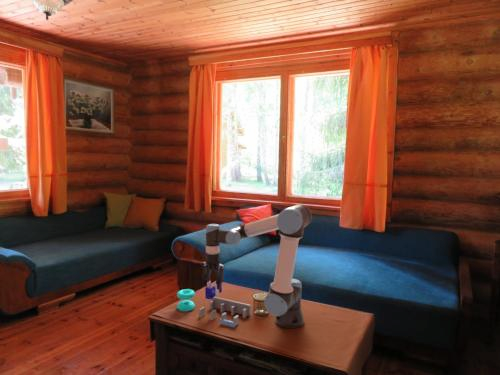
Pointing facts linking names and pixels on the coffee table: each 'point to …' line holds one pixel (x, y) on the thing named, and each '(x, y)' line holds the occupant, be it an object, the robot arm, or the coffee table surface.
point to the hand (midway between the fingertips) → (213, 293)
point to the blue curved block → (211, 291)
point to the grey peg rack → (228, 306)
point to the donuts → (186, 304)
